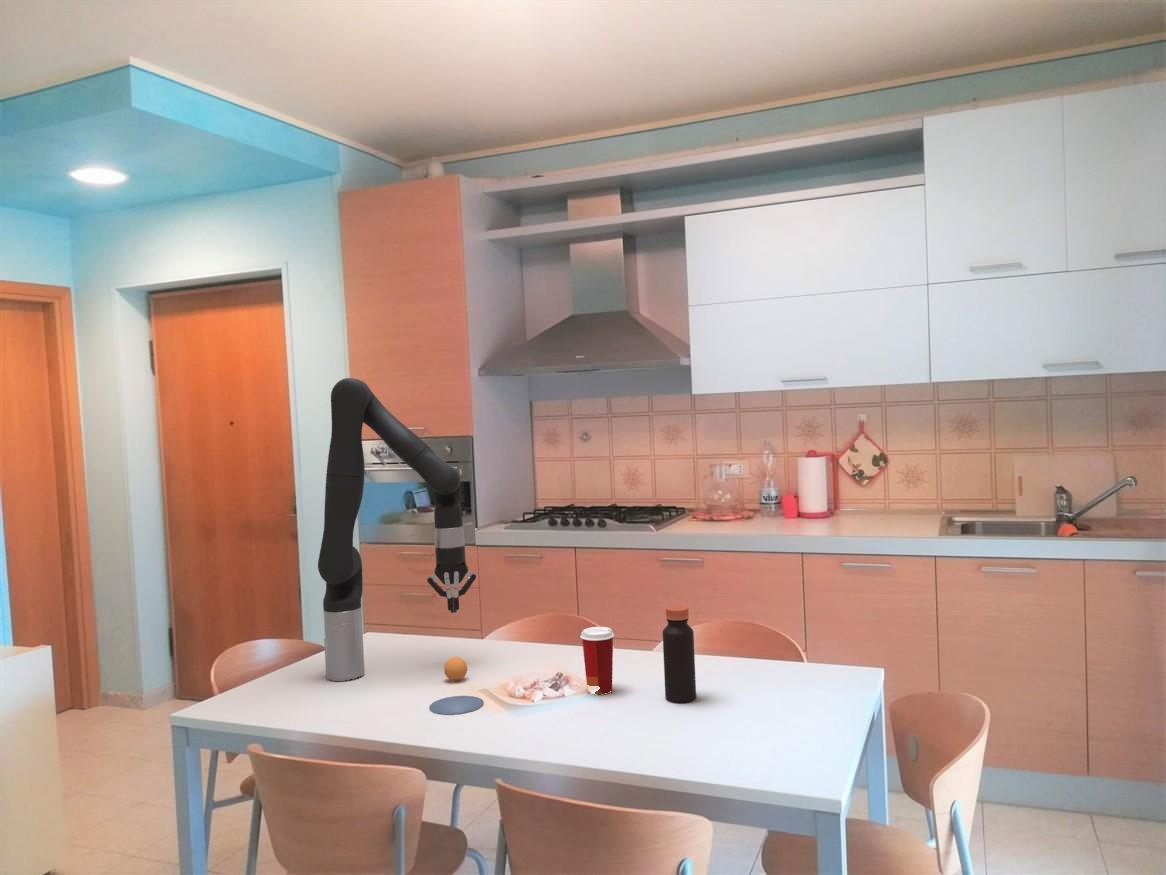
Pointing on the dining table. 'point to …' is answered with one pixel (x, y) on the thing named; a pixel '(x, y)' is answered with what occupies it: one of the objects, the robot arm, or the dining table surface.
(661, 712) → the dining table surface
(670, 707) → the dining table surface
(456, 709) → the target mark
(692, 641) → the bottle
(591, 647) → the paper cup
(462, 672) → the ball
